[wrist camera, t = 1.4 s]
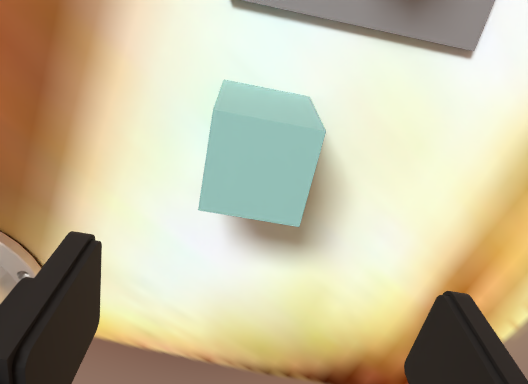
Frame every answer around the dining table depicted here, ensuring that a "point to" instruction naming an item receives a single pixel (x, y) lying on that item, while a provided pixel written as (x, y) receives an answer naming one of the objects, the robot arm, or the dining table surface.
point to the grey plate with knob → (403, 17)
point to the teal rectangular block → (261, 154)
